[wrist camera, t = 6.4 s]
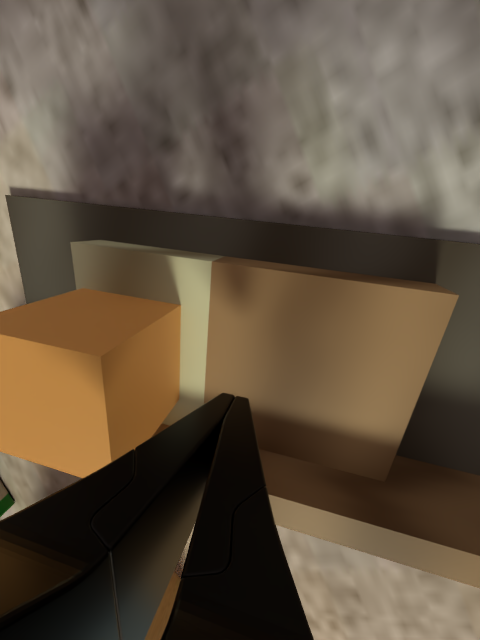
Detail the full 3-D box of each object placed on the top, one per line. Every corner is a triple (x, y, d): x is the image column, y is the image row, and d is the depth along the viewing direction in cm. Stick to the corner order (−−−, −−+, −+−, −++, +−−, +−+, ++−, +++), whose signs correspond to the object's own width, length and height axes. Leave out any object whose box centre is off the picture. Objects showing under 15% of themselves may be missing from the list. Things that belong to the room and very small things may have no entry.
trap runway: (620, 258, 9) (847, 284, 5) (479, 497, 13) (548, 609, 9) (11, 195, 13) (-104, 185, 9) (47, 386, 17) (-24, 431, 13)
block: (181, 305, 11) (100, 356, 7) (179, 399, 12) (114, 488, 8) (82, 287, 12) (-43, 324, 7) (93, 378, 13) (-6, 449, 9)
